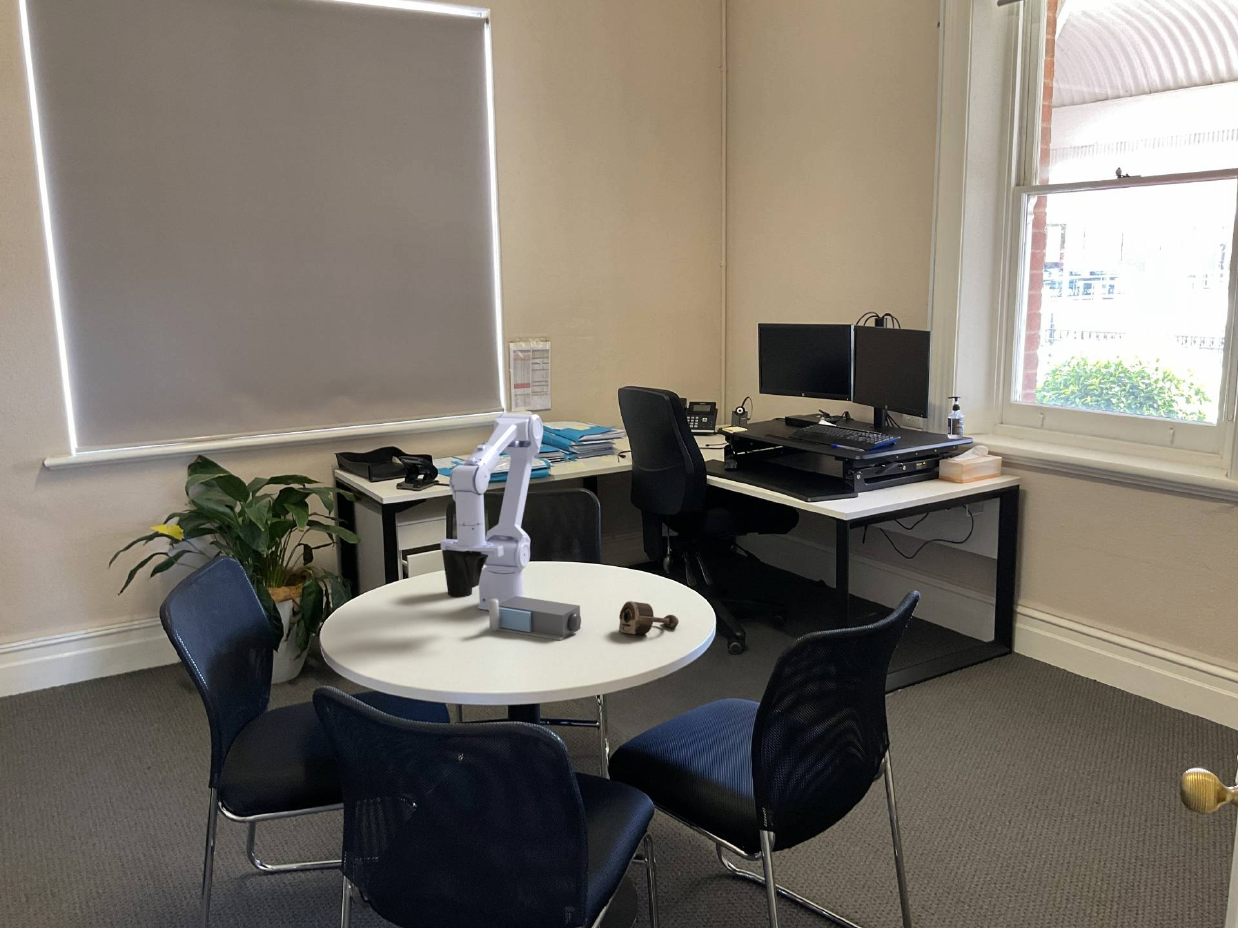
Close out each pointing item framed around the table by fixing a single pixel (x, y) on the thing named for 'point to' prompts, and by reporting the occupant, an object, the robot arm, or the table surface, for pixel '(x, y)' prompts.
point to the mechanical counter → (641, 618)
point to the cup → (455, 575)
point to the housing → (546, 617)
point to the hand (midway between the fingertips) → (473, 586)
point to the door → (508, 617)
